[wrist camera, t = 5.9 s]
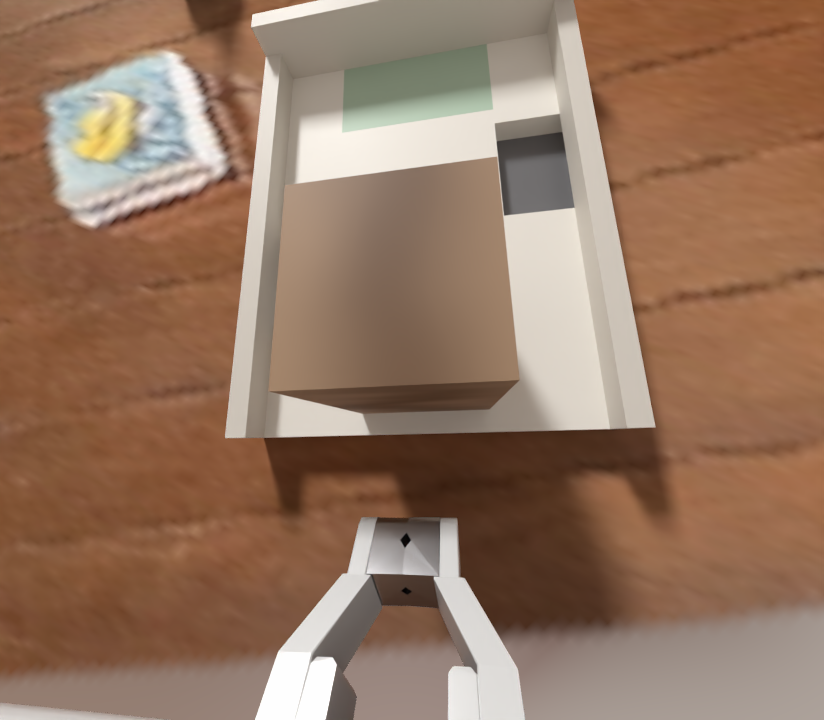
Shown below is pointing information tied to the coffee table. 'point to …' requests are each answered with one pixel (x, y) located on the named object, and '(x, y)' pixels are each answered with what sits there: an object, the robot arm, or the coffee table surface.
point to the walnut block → (395, 292)
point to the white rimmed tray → (438, 144)
